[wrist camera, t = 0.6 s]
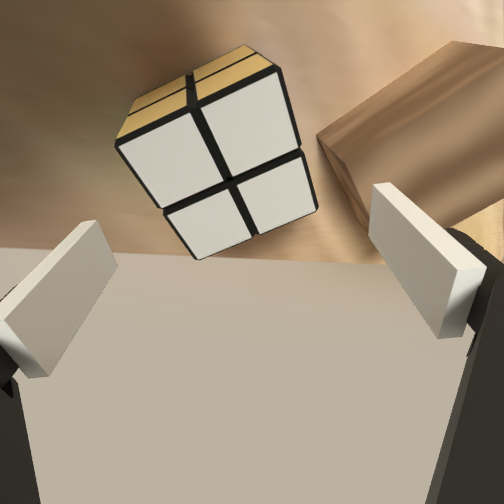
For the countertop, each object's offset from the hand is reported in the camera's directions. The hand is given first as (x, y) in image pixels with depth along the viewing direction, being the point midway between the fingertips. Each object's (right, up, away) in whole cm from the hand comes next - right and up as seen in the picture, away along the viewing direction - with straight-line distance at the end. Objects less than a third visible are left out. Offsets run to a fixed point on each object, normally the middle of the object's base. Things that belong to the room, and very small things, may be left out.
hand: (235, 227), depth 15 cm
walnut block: (+16, +10, +16) cm, 24 cm away
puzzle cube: (-2, +10, +12) cm, 16 cm away
